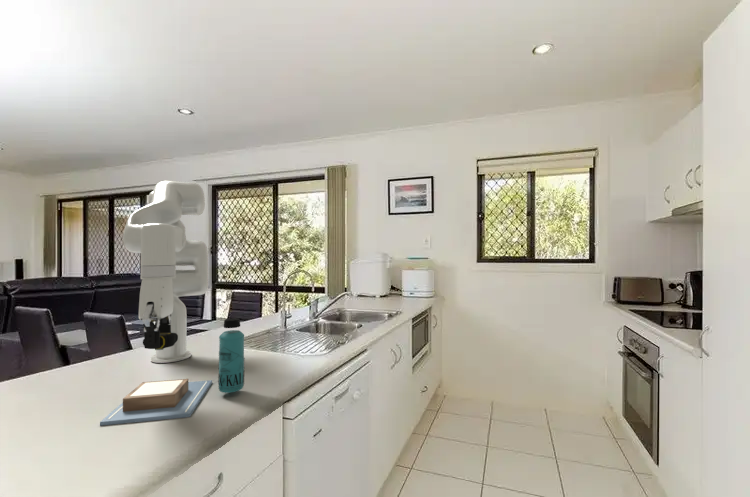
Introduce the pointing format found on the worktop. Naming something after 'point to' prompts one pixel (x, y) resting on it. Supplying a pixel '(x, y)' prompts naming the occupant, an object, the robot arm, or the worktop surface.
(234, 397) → the worktop surface
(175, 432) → the worktop surface
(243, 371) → the beverage bottle
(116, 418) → the board
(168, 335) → the tape measure
